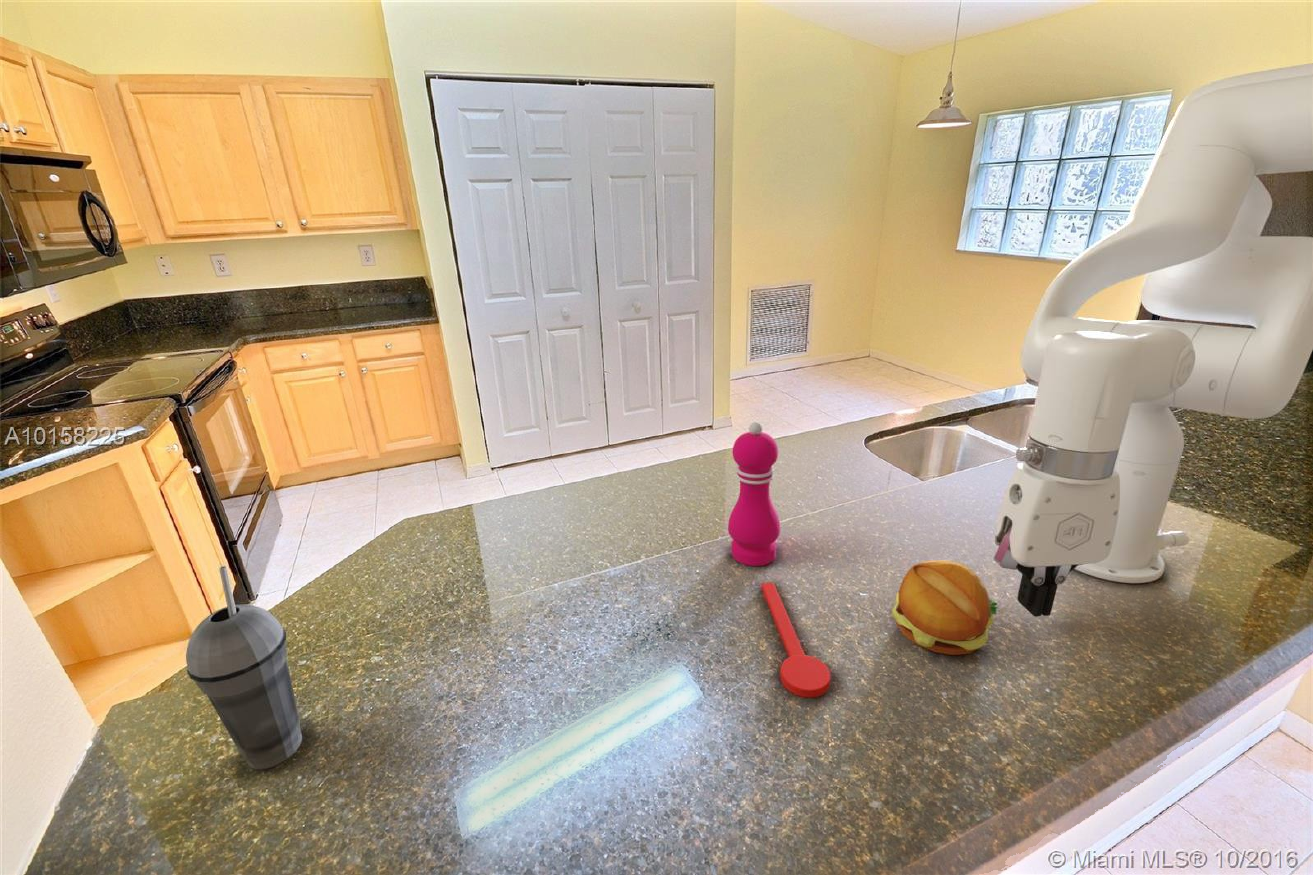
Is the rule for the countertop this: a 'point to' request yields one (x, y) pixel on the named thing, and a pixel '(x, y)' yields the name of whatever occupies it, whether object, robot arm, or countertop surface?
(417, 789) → the countertop surface
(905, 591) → the cheeseburger
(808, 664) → the spoon
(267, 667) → the beverage cup
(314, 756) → the countertop surface
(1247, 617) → the countertop surface
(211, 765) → the countertop surface
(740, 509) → the pepper mill
